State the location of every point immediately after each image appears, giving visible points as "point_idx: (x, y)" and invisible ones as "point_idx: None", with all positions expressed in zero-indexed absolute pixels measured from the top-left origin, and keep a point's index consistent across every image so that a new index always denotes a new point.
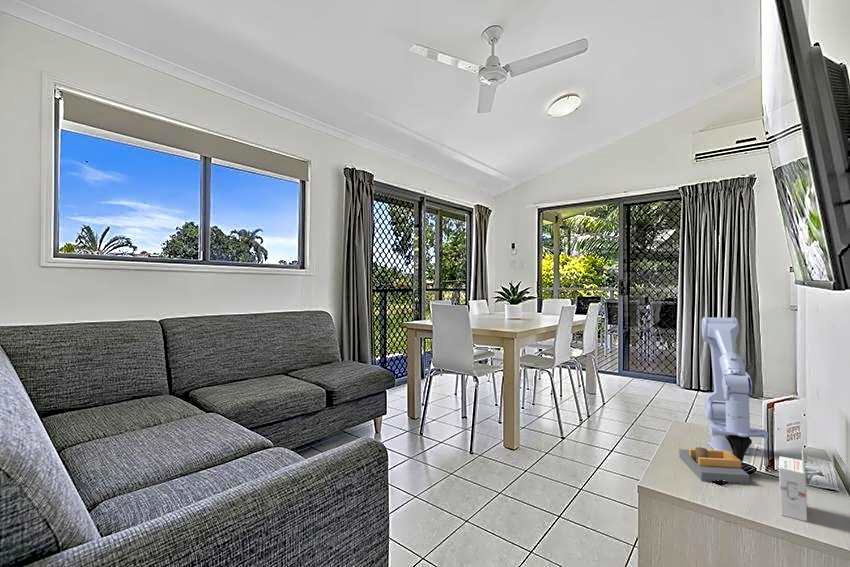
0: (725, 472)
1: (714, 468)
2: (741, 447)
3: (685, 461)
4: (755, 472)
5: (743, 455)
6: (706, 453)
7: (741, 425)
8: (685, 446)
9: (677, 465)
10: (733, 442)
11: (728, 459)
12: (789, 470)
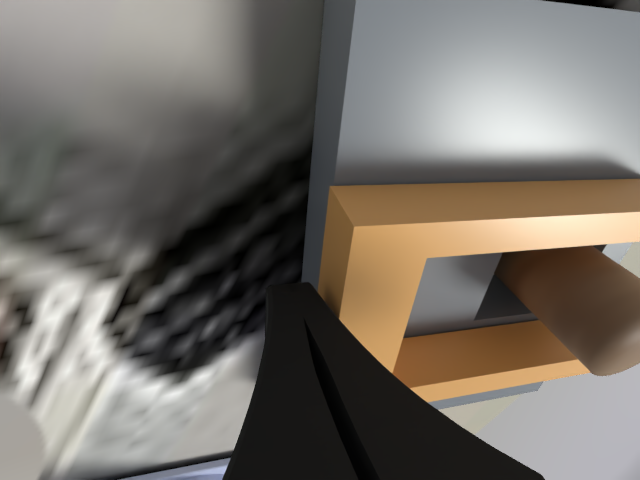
0: (569, 42)
1: (585, 135)
2: (330, 428)
3: None
4: (141, 249)
5: (279, 332)
6: (611, 297)
7: None
8: None
9: None
10: (542, 476)
11: (472, 235)
12: None
